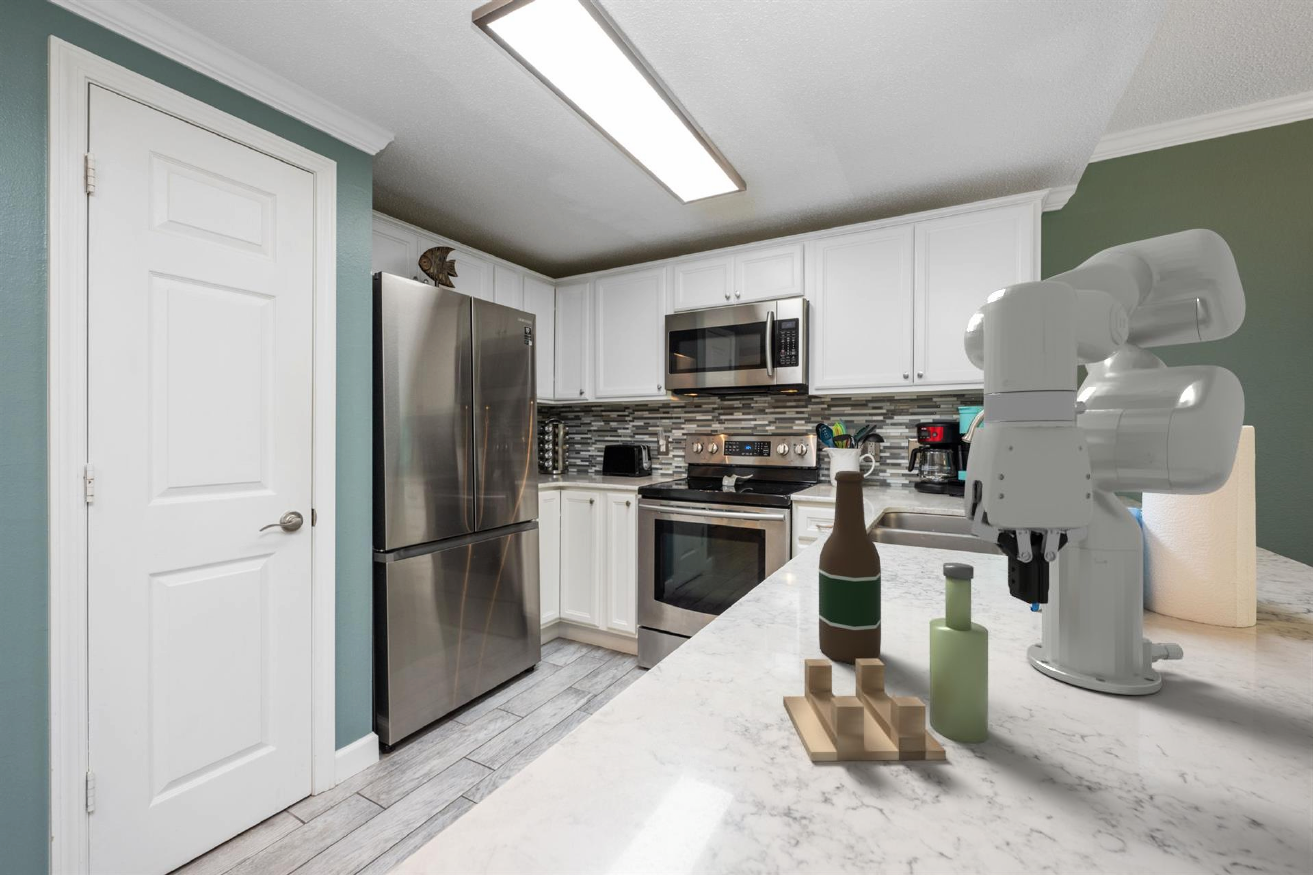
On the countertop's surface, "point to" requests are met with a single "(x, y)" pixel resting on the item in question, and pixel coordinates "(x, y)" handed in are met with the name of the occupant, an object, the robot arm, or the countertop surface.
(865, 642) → the beer bottle
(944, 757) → the rest
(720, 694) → the countertop surface
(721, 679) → the countertop surface
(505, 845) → the countertop surface
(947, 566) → the bottle
